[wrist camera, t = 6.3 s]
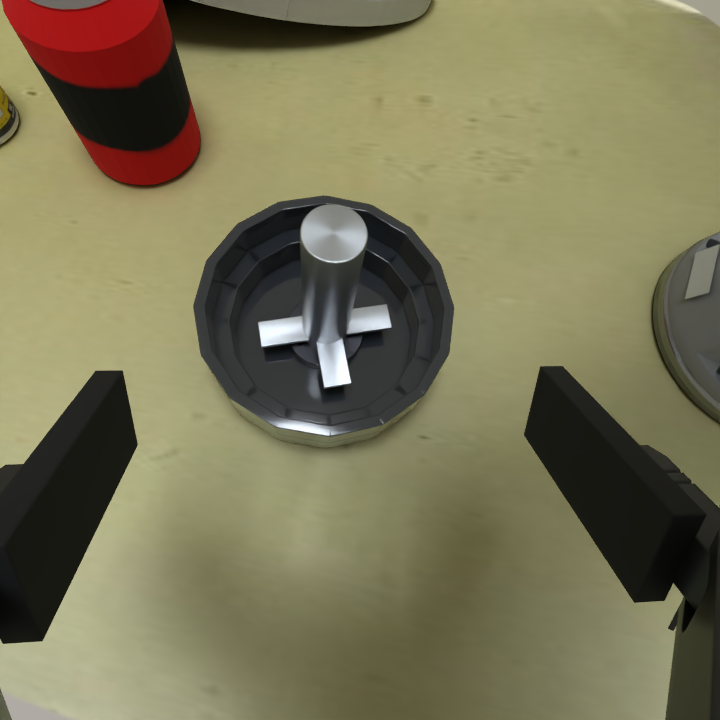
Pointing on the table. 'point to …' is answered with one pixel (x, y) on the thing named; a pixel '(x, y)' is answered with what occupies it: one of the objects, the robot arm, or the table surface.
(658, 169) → the table surface
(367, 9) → the blue-topped round disc
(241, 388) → the processor bowl
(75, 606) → the table surface
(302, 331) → the blade
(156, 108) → the soda can
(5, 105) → the supplement bottle
